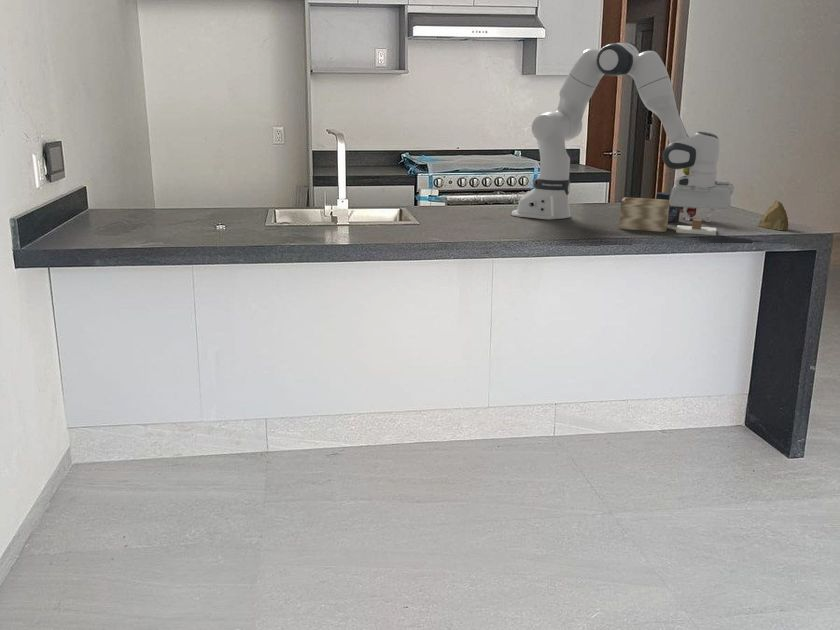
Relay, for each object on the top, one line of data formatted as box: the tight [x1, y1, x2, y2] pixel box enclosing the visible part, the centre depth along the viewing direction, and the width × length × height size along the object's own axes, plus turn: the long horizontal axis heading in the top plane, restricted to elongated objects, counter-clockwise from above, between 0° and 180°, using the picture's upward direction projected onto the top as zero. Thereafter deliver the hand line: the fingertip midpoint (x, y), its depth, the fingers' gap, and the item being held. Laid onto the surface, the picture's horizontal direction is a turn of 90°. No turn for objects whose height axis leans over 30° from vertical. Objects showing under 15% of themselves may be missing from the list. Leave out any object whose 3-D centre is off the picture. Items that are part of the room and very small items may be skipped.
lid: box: [675, 218, 717, 236], centre depth 277 cm, size 13×8×5 cm, turn 71°
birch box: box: [618, 197, 670, 233], centre depth 282 cm, size 16×10×10 cm, turn 71°
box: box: [655, 191, 681, 223], centre depth 297 cm, size 8×6×11 cm
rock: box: [757, 199, 789, 231], centre depth 285 cm, size 11×9×10 cm
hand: (697, 220), depth 277 cm, fingers open, 5 cm apart
